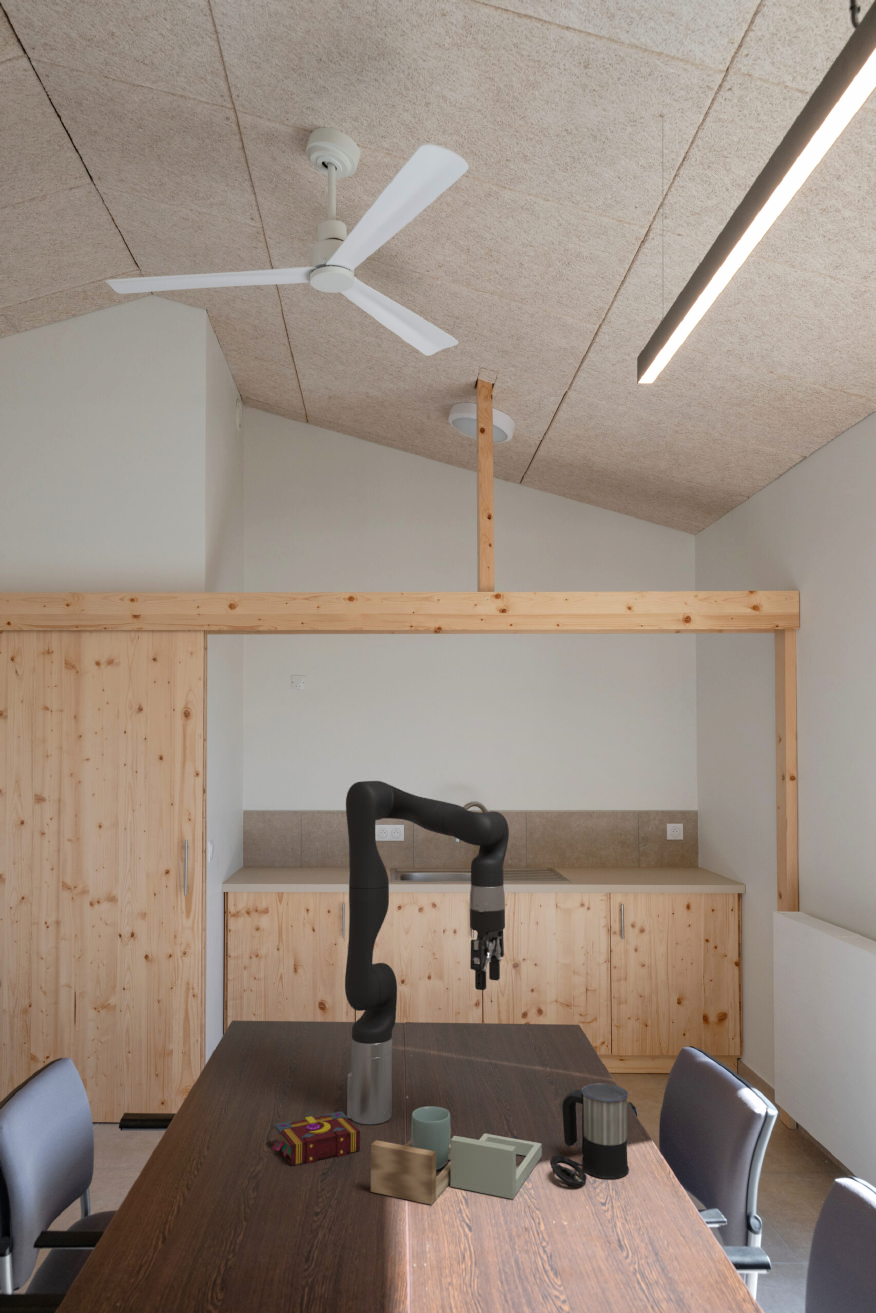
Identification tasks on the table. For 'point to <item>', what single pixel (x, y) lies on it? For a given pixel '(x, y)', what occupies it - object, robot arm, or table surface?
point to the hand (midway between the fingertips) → (487, 984)
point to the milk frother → (595, 1133)
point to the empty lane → (492, 1164)
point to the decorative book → (317, 1138)
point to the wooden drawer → (407, 1172)
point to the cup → (432, 1132)
